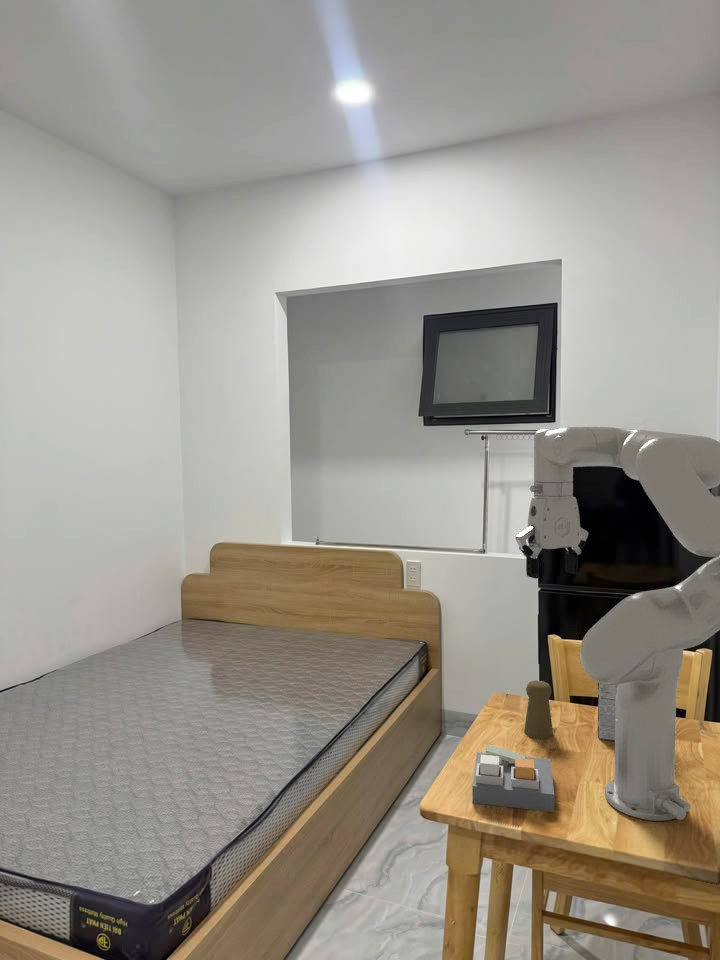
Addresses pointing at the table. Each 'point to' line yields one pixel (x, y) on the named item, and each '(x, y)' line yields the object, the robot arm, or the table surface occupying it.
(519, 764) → the orange button
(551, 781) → the switch panel
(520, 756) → the block
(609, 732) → the candy bar box
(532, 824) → the table surface
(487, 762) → the cream button
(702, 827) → the table surface
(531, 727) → the cork
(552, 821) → the table surface
